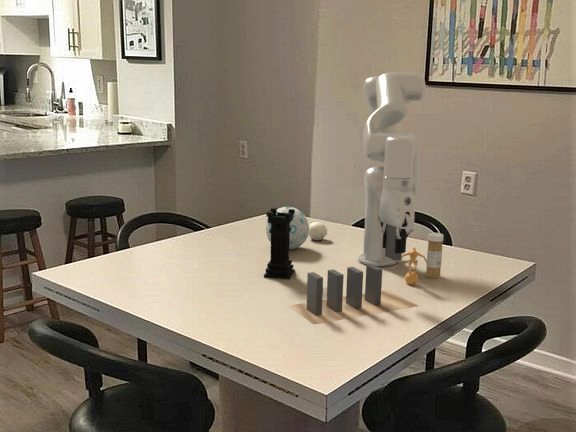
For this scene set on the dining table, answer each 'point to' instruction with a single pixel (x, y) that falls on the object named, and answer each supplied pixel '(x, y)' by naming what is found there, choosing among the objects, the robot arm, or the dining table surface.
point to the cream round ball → (317, 231)
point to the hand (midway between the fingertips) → (393, 249)
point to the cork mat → (387, 304)
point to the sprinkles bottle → (434, 255)
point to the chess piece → (280, 245)
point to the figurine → (412, 277)
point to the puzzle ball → (294, 228)
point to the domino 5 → (391, 243)
